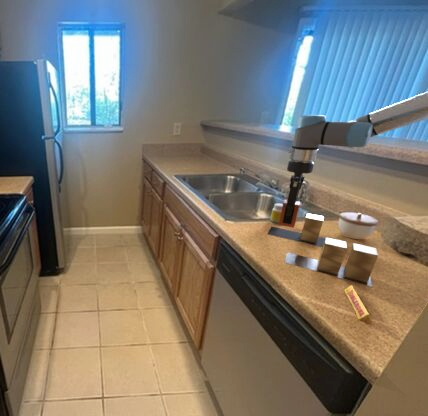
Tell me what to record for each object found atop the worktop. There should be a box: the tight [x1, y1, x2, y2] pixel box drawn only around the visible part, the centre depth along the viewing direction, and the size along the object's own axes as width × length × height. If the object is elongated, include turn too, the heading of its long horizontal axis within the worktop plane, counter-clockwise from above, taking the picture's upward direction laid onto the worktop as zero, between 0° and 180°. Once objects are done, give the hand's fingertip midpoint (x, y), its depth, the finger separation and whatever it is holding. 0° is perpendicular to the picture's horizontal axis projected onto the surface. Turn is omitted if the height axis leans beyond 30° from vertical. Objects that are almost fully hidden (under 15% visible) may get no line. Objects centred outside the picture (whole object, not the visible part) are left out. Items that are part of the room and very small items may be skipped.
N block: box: [344, 242, 379, 283], centre depth 80 cm, size 5×5×9 cm
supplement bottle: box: [269, 202, 283, 226], centre depth 116 cm, size 5×5×8 cm
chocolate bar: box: [344, 284, 373, 324], centre depth 70 cm, size 3×12×2 cm, turn 154°
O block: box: [300, 213, 325, 243], centre depth 101 cm, size 5×5×9 cm
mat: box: [267, 225, 326, 248], centre depth 105 cm, size 18×9×1 cm, turn 51°
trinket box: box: [337, 212, 379, 240], centre depth 103 cm, size 11×11×9 cm
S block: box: [278, 199, 301, 228], centre depth 104 cm, size 5×5×9 cm
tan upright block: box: [317, 236, 348, 275], centre depth 83 cm, size 5×5×9 cm
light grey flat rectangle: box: [284, 252, 373, 288], centre depth 85 cm, size 21×8×1 cm, turn 51°
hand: (287, 220), depth 106 cm, fingers closed on S block, 5 cm apart
